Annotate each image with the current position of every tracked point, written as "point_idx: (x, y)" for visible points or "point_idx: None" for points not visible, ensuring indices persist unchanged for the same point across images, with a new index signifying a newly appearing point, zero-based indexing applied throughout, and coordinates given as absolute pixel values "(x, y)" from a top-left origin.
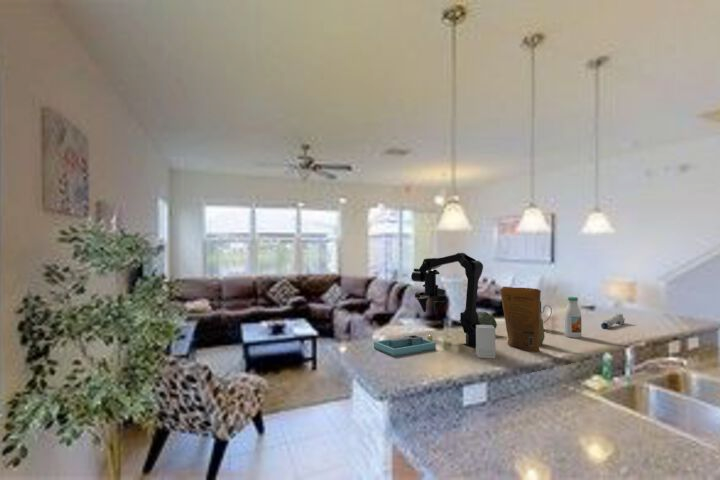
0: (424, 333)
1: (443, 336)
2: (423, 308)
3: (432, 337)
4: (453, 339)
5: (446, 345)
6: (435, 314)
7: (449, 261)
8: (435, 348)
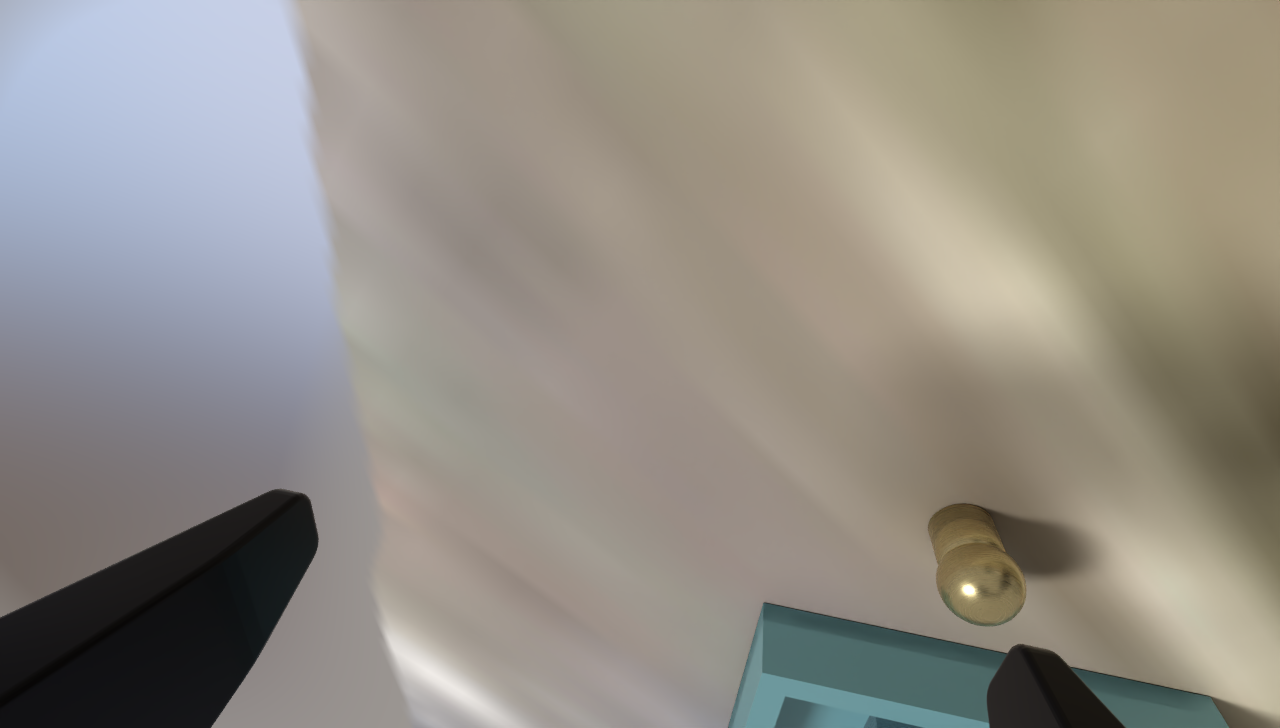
0: (460, 145)
1: (874, 26)
2: (227, 691)
3: (1025, 583)
4: (1217, 65)
5: (1274, 495)
6: (1006, 710)
7: None
8: (1215, 707)
